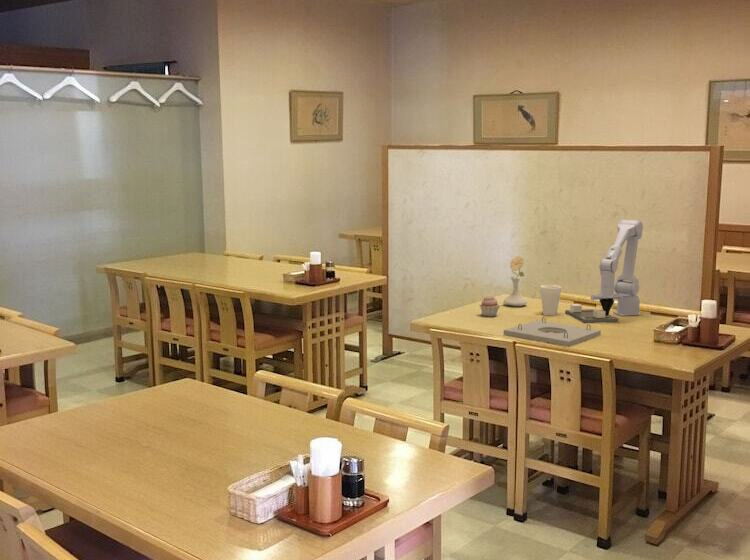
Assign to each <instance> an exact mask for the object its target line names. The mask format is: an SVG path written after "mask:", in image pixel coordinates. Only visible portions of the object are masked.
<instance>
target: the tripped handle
mask: <svg viewBox="0 0 750 560" xmlns="http://www.w3.org/2000/svg"><path fill="white" fill-rule="evenodd" d="M593 317H596V318H605V311H604V310H603V308H601V309H598V310H593Z"/></svg>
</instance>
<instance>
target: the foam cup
mask: <svg viewBox="0 0 750 560" xmlns="http://www.w3.org/2000/svg"><path fill="white" fill-rule="evenodd" d="M561 293H562V286H560V285H554V284H553V285H552V284H545V285H541V286H540V296H541V306H542V314H543V315H544V316H556V315H557V314H558V309H559V303H560V297H561Z"/></svg>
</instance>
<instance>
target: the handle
mask: <svg viewBox="0 0 750 560" xmlns="http://www.w3.org/2000/svg"><path fill="white" fill-rule="evenodd" d="M569 306H570V307H569V310H570V311H572V312H582V310H583V306H582V304H580V303H570V305H569Z"/></svg>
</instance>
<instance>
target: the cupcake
mask: <svg viewBox="0 0 750 560" xmlns="http://www.w3.org/2000/svg"><path fill="white" fill-rule="evenodd" d="M479 307H480V310H481V314H482V316H483V317H487V318H494V317H496V316H497V314H498V311H499V308H500V307H501V306H500V305H499V304H498V300H497V298H495V297H493V295H491V294H488V295H486V296H485V297H484V298H483V299H482V300H481V304H479Z"/></svg>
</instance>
